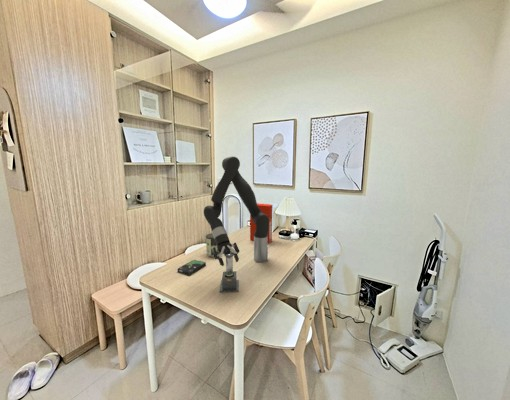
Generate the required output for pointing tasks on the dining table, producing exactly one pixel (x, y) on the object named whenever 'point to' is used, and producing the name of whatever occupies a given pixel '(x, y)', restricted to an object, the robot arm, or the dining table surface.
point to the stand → (229, 283)
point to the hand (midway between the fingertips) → (230, 263)
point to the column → (229, 264)
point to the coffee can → (210, 244)
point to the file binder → (268, 211)
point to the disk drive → (191, 267)
